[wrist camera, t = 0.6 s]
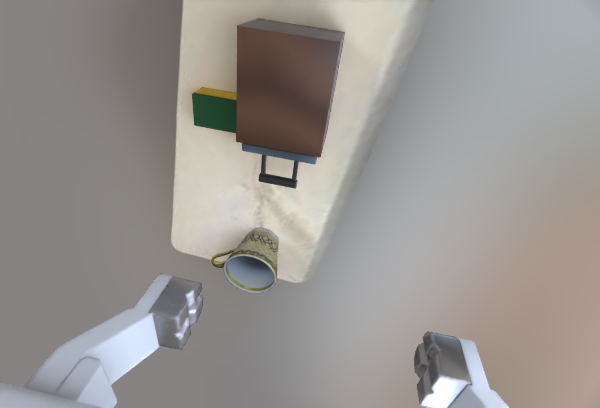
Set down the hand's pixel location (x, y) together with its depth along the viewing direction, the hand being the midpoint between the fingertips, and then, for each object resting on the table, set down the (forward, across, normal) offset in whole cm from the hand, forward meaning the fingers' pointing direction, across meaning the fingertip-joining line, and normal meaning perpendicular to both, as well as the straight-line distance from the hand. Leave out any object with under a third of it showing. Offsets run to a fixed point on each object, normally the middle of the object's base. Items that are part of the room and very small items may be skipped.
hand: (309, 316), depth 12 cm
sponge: (+43, +19, +9) cm, 47 cm away
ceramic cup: (+43, +12, +36) cm, 57 cm away
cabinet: (+42, +8, +3) cm, 43 cm away
